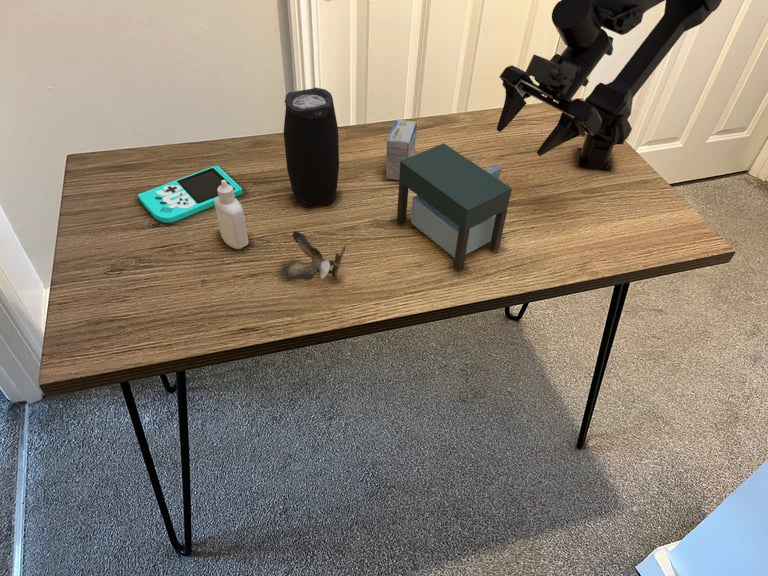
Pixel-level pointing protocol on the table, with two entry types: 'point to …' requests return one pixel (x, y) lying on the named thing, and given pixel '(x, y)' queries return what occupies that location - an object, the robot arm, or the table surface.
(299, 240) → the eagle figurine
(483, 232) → the drawer
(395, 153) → the medicine box
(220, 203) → the eye dropper bottle
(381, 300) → the table surface
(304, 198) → the portable speaker
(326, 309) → the table surface
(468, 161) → the cabinet
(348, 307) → the table surface
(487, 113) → the table surface
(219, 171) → the handheld game console
